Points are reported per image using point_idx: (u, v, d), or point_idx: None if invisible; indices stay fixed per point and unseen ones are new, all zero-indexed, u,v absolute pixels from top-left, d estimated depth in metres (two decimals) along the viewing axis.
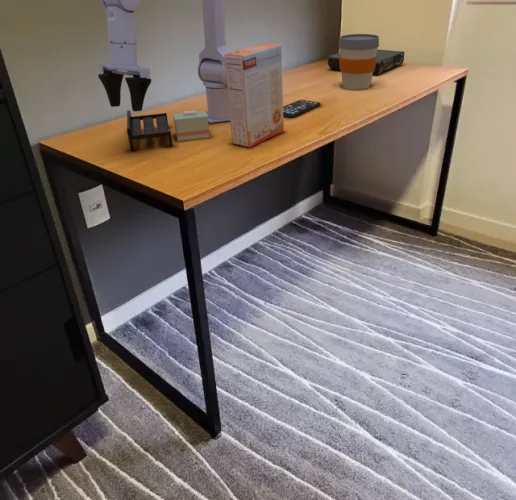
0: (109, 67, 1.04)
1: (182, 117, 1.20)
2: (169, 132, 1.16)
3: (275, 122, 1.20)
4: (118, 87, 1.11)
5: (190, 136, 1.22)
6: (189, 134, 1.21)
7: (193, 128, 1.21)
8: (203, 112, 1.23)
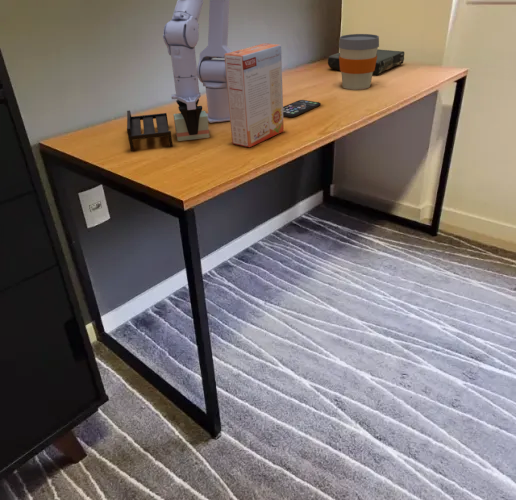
0: None
1: (182, 117, 1.20)
2: (169, 132, 1.16)
3: (275, 122, 1.20)
4: None
5: (190, 136, 1.22)
6: None
7: None
8: (203, 112, 1.23)
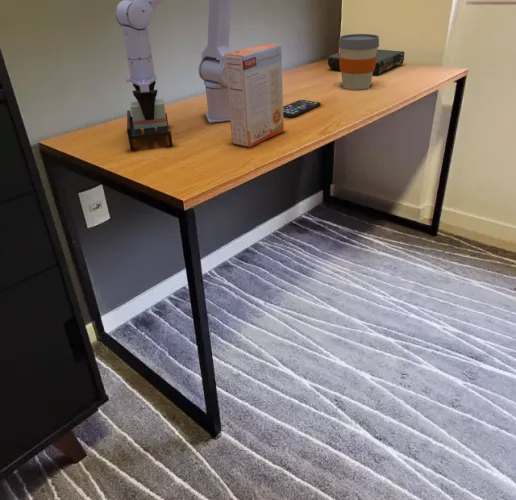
0: (126, 80, 1.16)
1: (138, 105, 1.18)
2: (169, 132, 1.16)
3: (275, 122, 1.20)
4: None
5: (147, 124, 1.20)
6: (146, 122, 1.20)
7: None
8: (160, 100, 1.21)
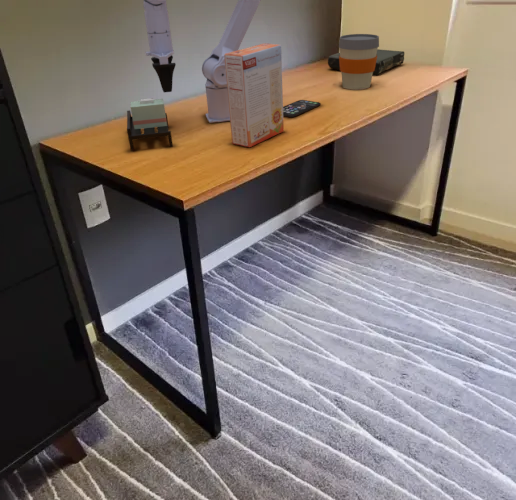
0: None
1: (138, 105, 1.18)
2: (169, 132, 1.16)
3: (275, 122, 1.20)
4: None
5: (147, 124, 1.20)
6: (146, 122, 1.20)
7: (150, 116, 1.19)
8: (160, 100, 1.21)
